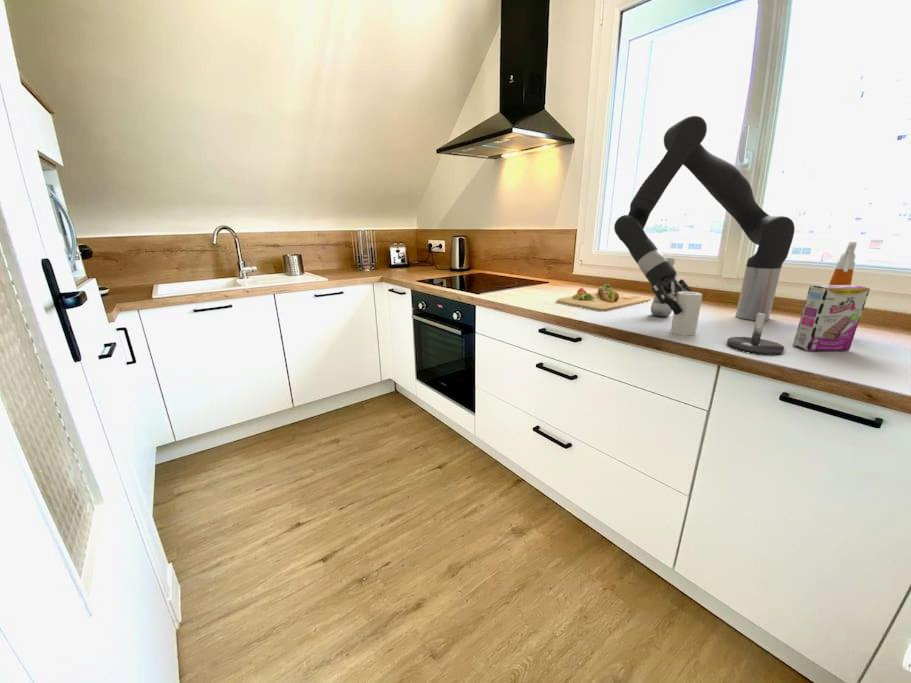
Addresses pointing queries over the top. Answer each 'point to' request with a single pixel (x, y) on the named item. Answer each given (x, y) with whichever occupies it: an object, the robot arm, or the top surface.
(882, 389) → the top surface
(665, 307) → the plastic bottle
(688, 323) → the paper towel roll
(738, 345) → the roll holder
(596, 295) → the cutting board
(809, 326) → the candy bar box
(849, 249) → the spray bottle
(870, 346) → the top surface
